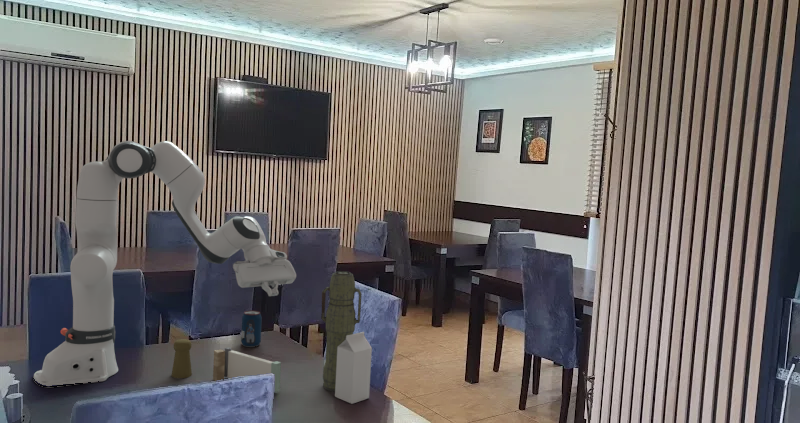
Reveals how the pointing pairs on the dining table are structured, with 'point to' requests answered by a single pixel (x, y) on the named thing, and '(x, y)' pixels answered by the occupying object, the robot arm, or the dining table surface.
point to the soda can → (251, 328)
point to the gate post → (218, 364)
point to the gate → (250, 366)
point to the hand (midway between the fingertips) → (274, 294)
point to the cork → (182, 359)
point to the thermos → (338, 320)
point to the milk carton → (353, 369)
